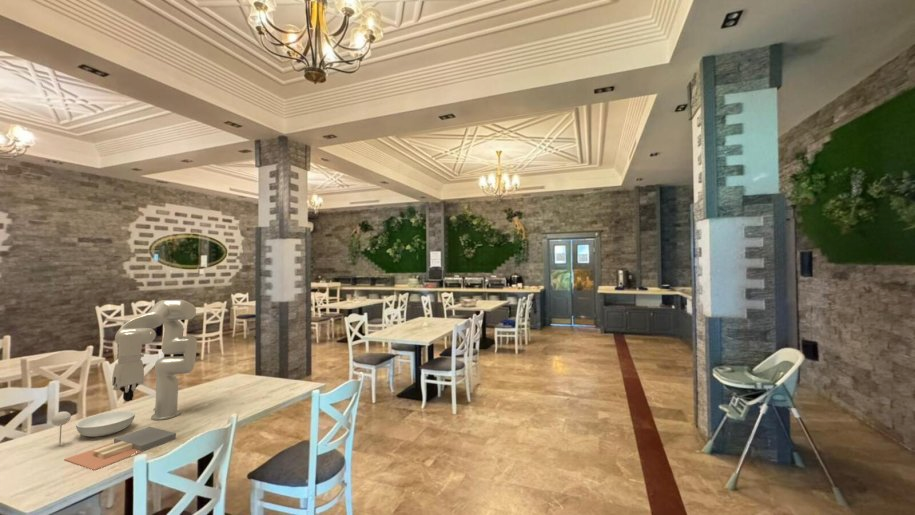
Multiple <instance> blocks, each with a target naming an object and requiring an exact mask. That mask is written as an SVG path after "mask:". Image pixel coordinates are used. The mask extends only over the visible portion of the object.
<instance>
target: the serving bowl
mask: <svg viewBox="0 0 915 515" xmlns="http://www.w3.org/2000/svg"><path fill="white" fill-rule="evenodd" d="M135 417H136V412H135V411H133V410H115V411H107V412H103V413H102V412H101V413H97V414H95V415H91V416H88V417H85V418H82V419H80V420H78V421H77V422H76V424H75V427H76V431H77V433H78V434H80V435H82V436H85V437H104V436H108V435H112V434H115V433H118V432H120V431H122V430H124V429H126V428H128V427H129V426H130V425H131V424H132V423H133V421H134V419H135Z"/></svg>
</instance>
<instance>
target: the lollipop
mask: <svg viewBox="0 0 915 515" xmlns="http://www.w3.org/2000/svg"><path fill="white" fill-rule="evenodd" d="M71 418H72V415H71V413H70V412H68V411H59V412H57V413H55V414H54V415H53V416H52V418H51V424H53V425H54V426H56V427H58V426H59V440H58V447H61V445H62V444H61V442H62V426H63V425H66V424H68V423H69V422H70V421H71Z"/></svg>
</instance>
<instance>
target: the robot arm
mask: <svg viewBox="0 0 915 515" xmlns="http://www.w3.org/2000/svg"><path fill="white" fill-rule="evenodd" d="M196 314H197V308H196V306H195V305H194V304H193V303H191V302H189V301H188V300H184V299H162V300H158V301H157V302H156V303H155V304H154V305H153V306H152V307H151V308H150V309H149V311H147V312H146V313H145V314H143V315H140V316H137V317H135V318H133V319H131V320H129V321H127V322H125V323H124V324H122V325H121V326H120V328H119V329H118V330H117V331H116V334H115V336H114V341H115V343H116V344H117V345H118V350H117V351H118V354H117V356H118V357H117V363H115V364H114V367H113V370H112V371H113V372H112V380H111V386H113V388H112V390H113V391H121V392H123V393H122V394H123V395H122V399H123V401H124V402H129V401H133V398H134V391H135V390H136V388H137V387H139V386H141V385H143V384H144V380H145V370H144V369H145V368H144V363H143V360H142V358H143V357H145V355H144V353H142V351H141V350H142V345H147V344H148V345H149V344H151V343H153V341H154V340H155V339H156V338H157V337H156V336H157V334H156V330H155V328H158V327H160V326H162V325H163V328H164V332H163V336H162V342H161V352H162V353H163V354H164V355H173V356H164V357H163V356H162V357H161V358H160V357H159V359H157V360H156V362H155V363H154V372H155V380H156V381H155V403H154V404H155V405H154V407H153V409H152V410H153V412H154V413H153V414H152V415H151V416H150V419H151V420H153V421H161V420H168V419H171V418H176V417H177V416H180V414H181V413H182V412H181V410H180V409H178V401H179V400H178V399H179V397H178V396H179V380H178V377H176V375H184V374H190V373H191V372H193V370H194V369H195V364H196V356H197V348H198V341H197V338H196V337H195V336H190V335H188V336H187V335H186V336H184V325H183V324H182V323H181V321H183V320H192V319H194V317H195V316H196ZM180 320H181V321H180ZM183 354H184V355H183ZM174 355H175V356H174ZM176 355H177V356H176ZM178 355H181V356H178Z"/></svg>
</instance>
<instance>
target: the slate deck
mask: <svg viewBox="0 0 915 515" xmlns="http://www.w3.org/2000/svg"><path fill="white" fill-rule="evenodd" d="M176 439H177V433H176V432H174V431H169V430H165V429H161V428H157V427H152V426H148V427H144V428H141V429H138V430H135V431H132V432H129V433H126V434H123V435H120V436H117V437H115V438H113V443H117V442H120V441H124V442H127V443H131V444H133V448H132V449H136V450H139V451H142V450H144V451H147V450H149V449H152V448H154V447H157V446H159V445H163V444H165V443H168V442H171V441H173V440H176ZM142 452H143V451H142Z"/></svg>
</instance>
